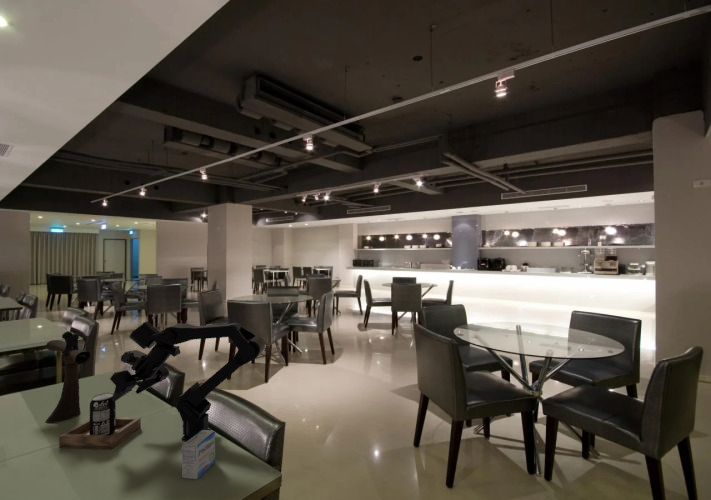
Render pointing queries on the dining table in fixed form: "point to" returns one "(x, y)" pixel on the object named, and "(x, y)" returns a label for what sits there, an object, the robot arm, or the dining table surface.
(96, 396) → the beverage can
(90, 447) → the tray
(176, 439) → the dining table surface
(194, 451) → the medicine box
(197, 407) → the robot arm
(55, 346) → the flared trumpet-armed statue
